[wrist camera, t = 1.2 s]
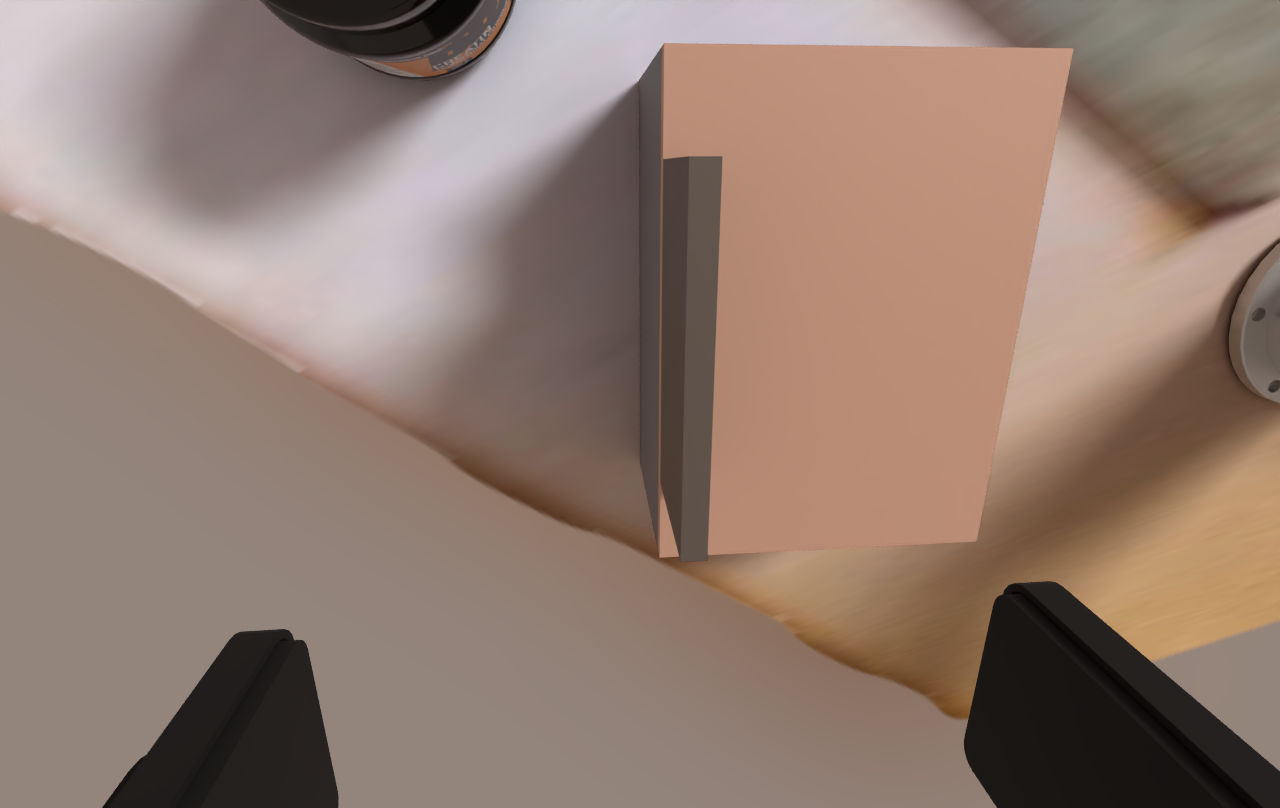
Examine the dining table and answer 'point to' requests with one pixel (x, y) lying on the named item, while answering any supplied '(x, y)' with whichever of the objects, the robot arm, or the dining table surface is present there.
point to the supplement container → (401, 31)
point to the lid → (841, 287)
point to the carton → (650, 276)
